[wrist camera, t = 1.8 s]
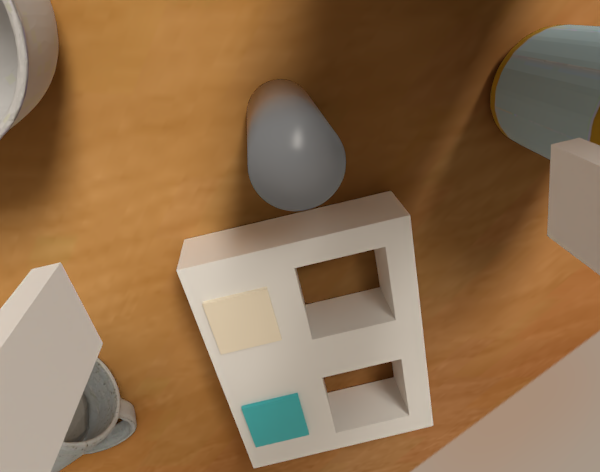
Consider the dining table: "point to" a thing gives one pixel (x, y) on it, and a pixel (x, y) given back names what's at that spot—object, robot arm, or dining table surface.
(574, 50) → the bottle
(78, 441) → the ceramic mug
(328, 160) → the plug
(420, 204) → the dining table surface
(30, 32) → the teacup
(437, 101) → the dining table surface
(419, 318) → the socket block
